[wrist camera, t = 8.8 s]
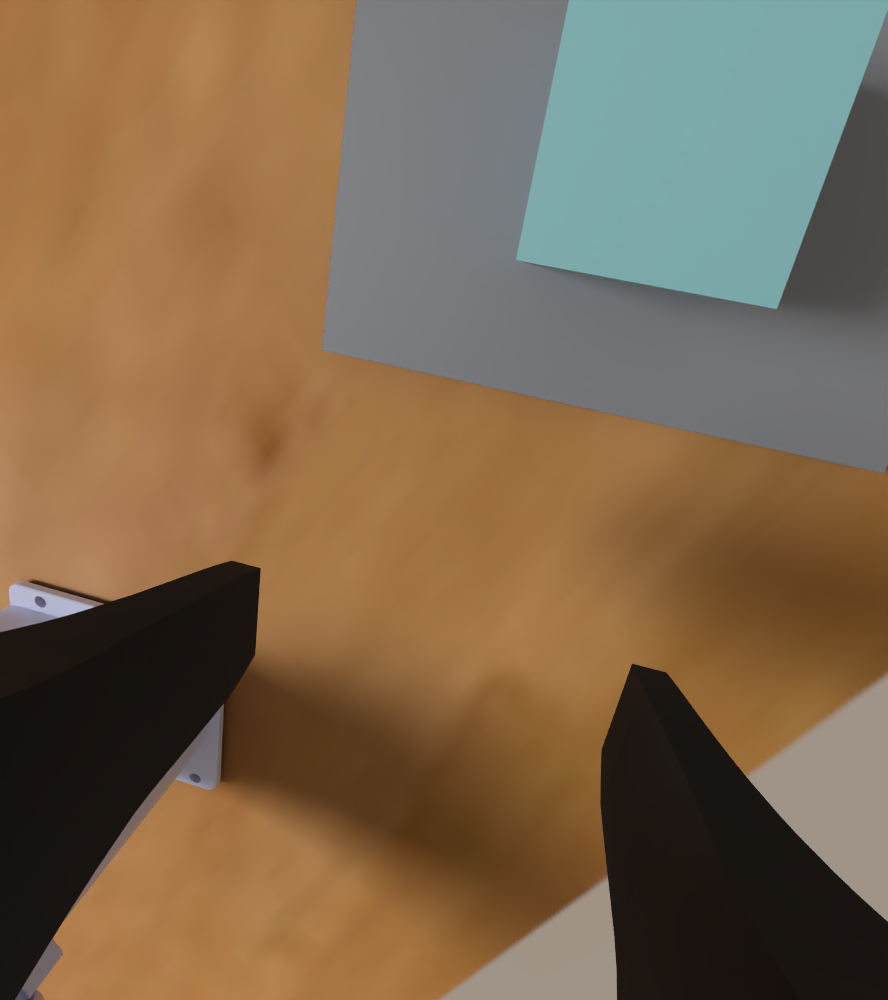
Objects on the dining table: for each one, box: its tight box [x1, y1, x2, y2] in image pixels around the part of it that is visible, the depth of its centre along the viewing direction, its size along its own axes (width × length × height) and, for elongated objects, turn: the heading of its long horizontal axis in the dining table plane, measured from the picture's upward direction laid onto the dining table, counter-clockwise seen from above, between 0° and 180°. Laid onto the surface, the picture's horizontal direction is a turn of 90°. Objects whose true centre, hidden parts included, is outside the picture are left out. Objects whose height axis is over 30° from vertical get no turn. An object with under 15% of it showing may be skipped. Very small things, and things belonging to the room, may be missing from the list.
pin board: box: [322, 0, 888, 474], centre depth 14 cm, size 16×12×4 cm
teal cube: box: [516, 0, 888, 309], centre depth 13 cm, size 5×5×4 cm
